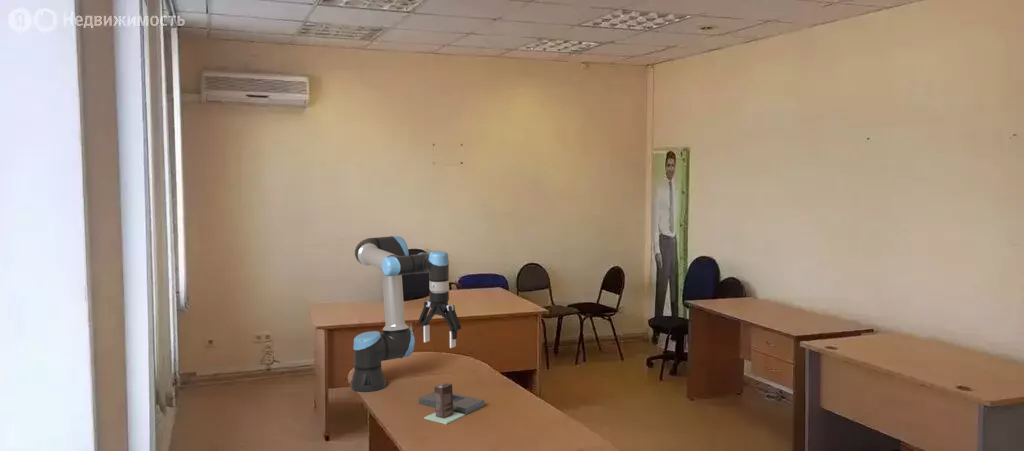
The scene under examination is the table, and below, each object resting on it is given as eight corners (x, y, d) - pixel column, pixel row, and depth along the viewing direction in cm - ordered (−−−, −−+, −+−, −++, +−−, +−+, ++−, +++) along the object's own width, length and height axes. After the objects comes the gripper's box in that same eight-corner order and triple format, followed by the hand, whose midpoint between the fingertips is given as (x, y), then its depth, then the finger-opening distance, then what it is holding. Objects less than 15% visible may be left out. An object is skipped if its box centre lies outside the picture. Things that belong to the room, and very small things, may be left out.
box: (445, 412, 290) (444, 382, 289) (453, 414, 287) (453, 384, 286) (434, 416, 285) (433, 386, 284) (443, 419, 283) (442, 388, 281)
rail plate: (419, 403, 302) (418, 397, 302) (438, 395, 312) (438, 389, 312) (465, 414, 289) (465, 408, 288) (484, 406, 299) (484, 400, 298)
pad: (424, 418, 285) (424, 417, 285) (443, 410, 294) (442, 409, 294) (446, 424, 279) (446, 422, 279) (464, 415, 288) (464, 414, 288)
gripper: (409, 288, 296) (409, 341, 298) (457, 296, 281) (457, 351, 284) (421, 286, 302) (422, 337, 304) (470, 293, 287) (470, 347, 290)
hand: (439, 344), depth 294 cm, fingers open, 13 cm apart
